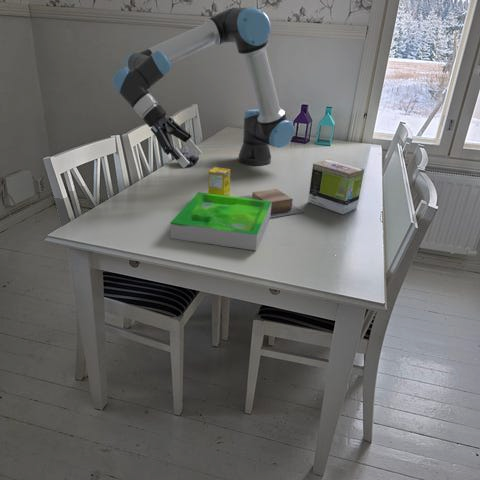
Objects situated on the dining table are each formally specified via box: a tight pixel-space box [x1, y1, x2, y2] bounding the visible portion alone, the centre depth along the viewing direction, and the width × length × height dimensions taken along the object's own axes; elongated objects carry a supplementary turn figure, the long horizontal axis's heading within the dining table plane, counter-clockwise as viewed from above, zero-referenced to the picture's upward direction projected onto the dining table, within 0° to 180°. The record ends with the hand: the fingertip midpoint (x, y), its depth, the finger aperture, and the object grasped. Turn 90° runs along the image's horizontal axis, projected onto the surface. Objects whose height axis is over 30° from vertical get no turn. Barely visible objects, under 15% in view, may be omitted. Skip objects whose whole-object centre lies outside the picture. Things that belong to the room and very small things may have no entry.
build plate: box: [240, 188, 304, 220], centre depth 146 cm, size 20×16×4 cm
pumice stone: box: [177, 146, 200, 168], centre depth 183 cm, size 10×8×10 cm
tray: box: [170, 191, 272, 251], centre depth 128 cm, size 25×25×5 cm
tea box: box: [308, 159, 365, 215], centre depth 147 cm, size 15×10×15 cm, turn 45°
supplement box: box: [207, 166, 231, 196], centre depth 147 cm, size 6×6×11 cm
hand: (193, 160), depth 145 cm, fingers open, 13 cm apart
